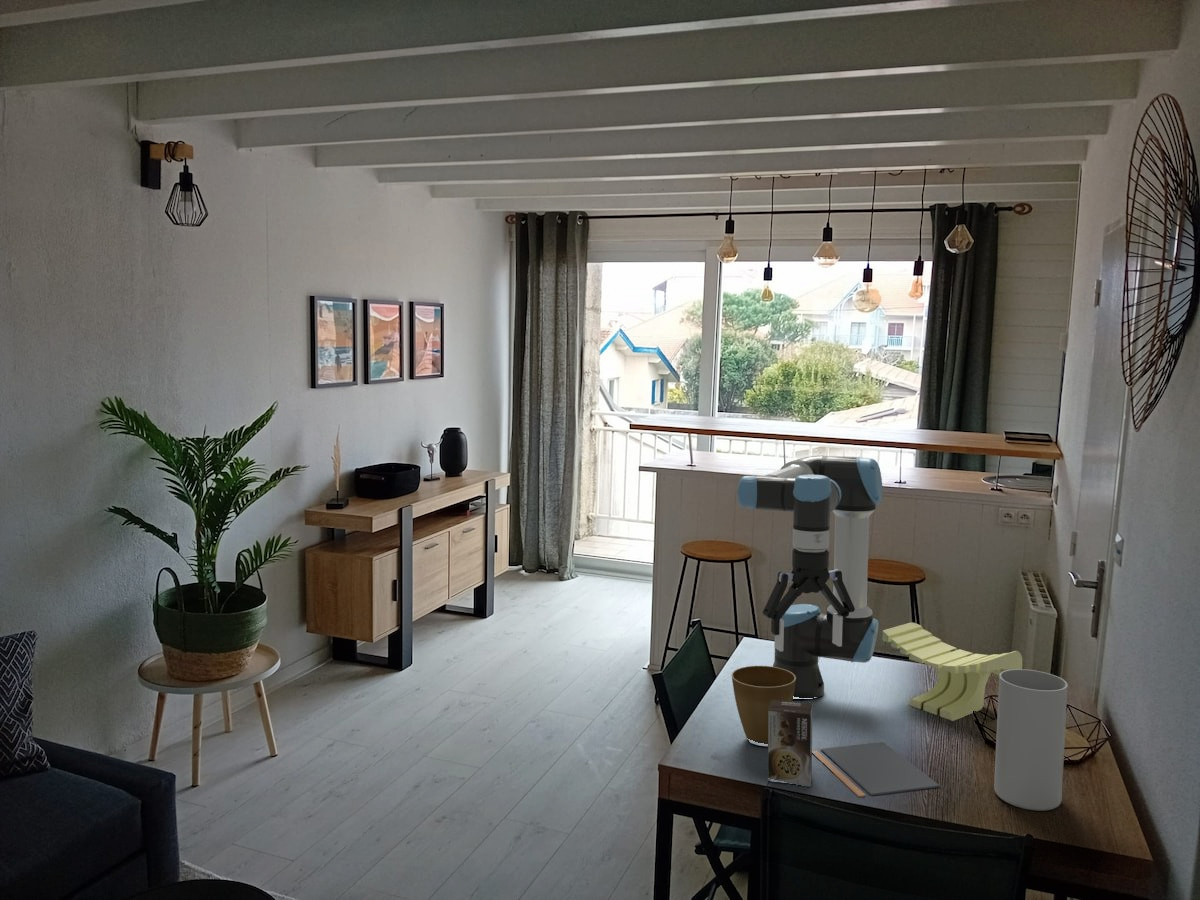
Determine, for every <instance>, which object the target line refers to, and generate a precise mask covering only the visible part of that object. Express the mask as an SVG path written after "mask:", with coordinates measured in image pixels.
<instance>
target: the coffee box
mask: <svg viewBox="0 0 1200 900" xmlns="http://www.w3.org/2000/svg"><path fill="white" fill-rule="evenodd" d="M767 748H768V749H767V750H768V751H767V752H768V753H767V779H768V778H770V779H774V780H778V781H784V782H787V783H792V784H796V785H795V786H798V785H801V786H800V787H808V788H809V787H811V785H812V784H811V783H812V778H813V776H812V775H813V774H812V773H813V769H812V768H813V765H812V764H813V754H812V750H813V703H812V702H801V701H800V702H799V701H793V700H792V701H781V700H771V703H770V706H769V710H768V747H767Z"/></svg>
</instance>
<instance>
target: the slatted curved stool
mask: <svg viewBox="0 0 1200 900" xmlns="http://www.w3.org/2000/svg"><path fill="white" fill-rule="evenodd" d="M881 636H882V638H881V639H882V641H883V642H886V643H890V647H891V648H893V649H896V650H897V649H900V650H899V653H900V654H901V655H902V654H903V655H905V656H907V655H909V657H908V659H909V661H913V662H916V663H920V664H924V665H926V666H929V667H932V668H935V669H936V672H937V677H938V678H937V682H936V684H935V685H934V686H933V687H932V688H931V689H930V690H928V691H926V692H924V693H923V694H919V695H918V696H915V697H912V698H911V699H910V701H909V702H908V703H907V705H908V706H911V707H914V708H916V709H919V710H923V712H924V711H925V712H927V713H930V714H932V715H935V716H937V715H939V717H941V718H943V719H946V720H949V721H951V722H954V721H956V720H959V719H961V718H964V717H965V716H966V717H967V716H968V715H970V714H974V713H973V711H974V710H975V711H976V712H978V711H982V709H983V707H984V704H985V691H986V685H987V682H988V680H989V678H990V675H991V674H993V675H996V676H999V674H1000V673H1001V672H1003V671H1006V670H1011V669H1023V656H1022V654H1021V652H1020V651H1019V650H1014V651H1011V652H1004V653H1003V652H1002V653H1001V654H995V653H994V654H981V653H973V652H971V651H967V650H963V649H960V648H959V649H957V647H955V646H953V645H950V644H948V643H945V642H944V641H942V639H940V638H938V637H936V636H934V635H933V633H931V632H930V631H928V630H926V629H924V628H923V626H922V625H921V624H918V623H915V622H908V623H904V624H900V625H896V626H894V627H890V628H886V629H883V630H882V635H881Z"/></svg>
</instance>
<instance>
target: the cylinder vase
mask: <svg viewBox="0 0 1200 900" xmlns="http://www.w3.org/2000/svg"><path fill="white" fill-rule="evenodd" d="M1068 687H1069V684H1068V682H1067V681H1066V680H1065V679H1064V678H1062V677H1060V676H1057V675H1054V674H1053V673H1048V672H1046V671H1045V672H1044V671H1039V670H1035V669H1027V668H1026V669H1023V668H1022V669H1011V670H1006V671H1003V672H1001V673H1000V674H999V675H998V696H997V697H998V698H997V699H998V700H997V717H996V718H997V719H996V737H995V739H996V741H995V763H994V778H993V779H994V784H993V786H994V787H993V790H994V792H995V794H996V796H998V798H1000V799H1001V800H1002V801H1004V802H1005V803H1007V804H1009V805H1011V806H1014V807H1017V808H1020V809H1023V810H1029V811H1037V812H1038V811H1040V812H1044V811H1045V812H1046V811H1050V810H1055V809H1056V808H1058V807H1059V806H1060V805H1061V803H1062V799H1063V798H1062V795H1063V778H1064V760H1065V759H1064V757H1065V744H1066V743H1065V741H1066V720H1067V703H1068V702H1067V700H1068Z"/></svg>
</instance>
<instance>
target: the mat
mask: <svg viewBox="0 0 1200 900" xmlns="http://www.w3.org/2000/svg"><path fill="white" fill-rule="evenodd" d="M821 750H822V751H823V752H824V753H825V754H827V755H828V756H829V757H830V758H831V759H832V760H833V761H834V762H835V763H836V764H837V765H836V764H835V763H834V762H833V761H832V760H831V759H830V758H829V757H828V756H827V757H828V758H829V759H830V760H831V761H832V762H833V763H834V764H835V765H836V766H837V767H839V768H840V770H842V771H843V772H844V773H845V774H846V775H847V774H848V775H847V776H848V777H850V778H851V779H852V780H853V781H854V782H855V783H856V784H857V785H859V786H860V787H861V788H862V789H863V790H864V791H865V792H866V793H867V794H868V795H870V796H878V795H885V794H886V795H887V794H893V793H895V794H896V793H904V792H912V791H919V790H926V789H934V788H940V784H938V783H937V782H936V781H934V780H933V779H932V778H930V777H929V776H928V775H927V774H926V773H924V772H923V771H922V770H920V769H919V768H918V767H916V766H915V765H914V764H912V763H911V762H910V761H909V760H907V759H906V758H905V757H903V756H902V755H901V754H899V753H898V752H897V751H896V750H895V749H893V748H891V746H890V745H888V744H886V742H884V741H881V742H880V741H879V742H869V743H861V744H852V745H844V746H835V747H825V748H820V751H821ZM822 751H821V752H822ZM823 752H822V753H823ZM824 753H823V754H824ZM825 754H824V755H825Z"/></svg>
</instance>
